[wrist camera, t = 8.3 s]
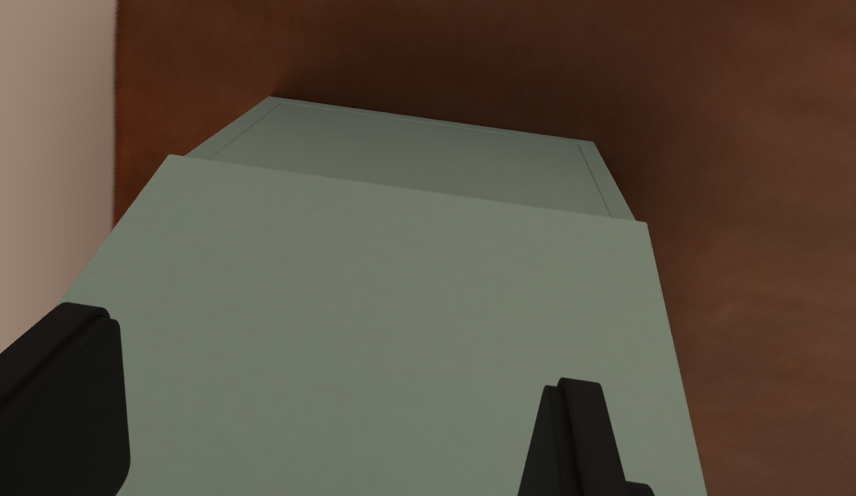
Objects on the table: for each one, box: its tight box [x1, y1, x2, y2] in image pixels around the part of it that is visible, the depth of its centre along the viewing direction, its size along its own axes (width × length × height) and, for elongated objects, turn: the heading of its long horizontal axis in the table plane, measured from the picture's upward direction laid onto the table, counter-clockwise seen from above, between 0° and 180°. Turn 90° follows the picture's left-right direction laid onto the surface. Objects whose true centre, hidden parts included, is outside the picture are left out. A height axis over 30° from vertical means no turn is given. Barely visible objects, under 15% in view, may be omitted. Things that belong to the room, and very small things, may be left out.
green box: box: [185, 96, 636, 221], centre depth 29 cm, size 16×15×10 cm
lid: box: [56, 155, 707, 496], centre depth 13 cm, size 16×15×5 cm
